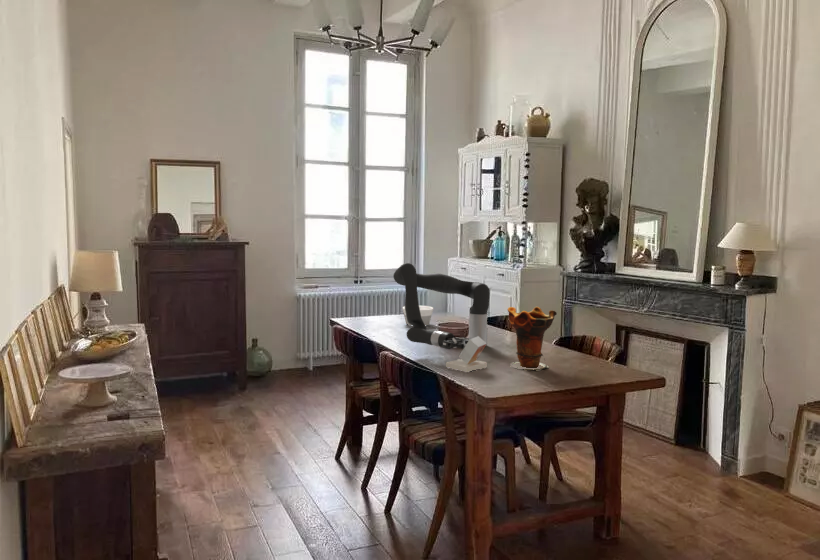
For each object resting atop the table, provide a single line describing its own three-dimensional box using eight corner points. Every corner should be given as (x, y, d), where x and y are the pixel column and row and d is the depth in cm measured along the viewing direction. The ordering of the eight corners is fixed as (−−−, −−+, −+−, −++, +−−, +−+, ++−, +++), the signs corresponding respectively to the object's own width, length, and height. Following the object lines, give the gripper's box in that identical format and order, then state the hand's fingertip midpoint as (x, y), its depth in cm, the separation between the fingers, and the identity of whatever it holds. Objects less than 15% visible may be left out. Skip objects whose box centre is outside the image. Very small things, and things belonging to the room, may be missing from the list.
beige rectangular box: (465, 363, 304) (466, 357, 304) (486, 367, 296) (486, 362, 296) (446, 367, 294) (446, 362, 294) (466, 372, 286) (467, 367, 286)
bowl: (400, 322, 412) (400, 305, 411) (430, 322, 415) (431, 305, 413) (403, 327, 393) (404, 309, 392) (435, 327, 396) (435, 310, 394)
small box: (466, 364, 290) (478, 347, 286) (457, 356, 292) (469, 339, 288) (476, 360, 297) (487, 343, 292) (467, 352, 299) (478, 335, 294)
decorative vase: (564, 365, 301) (564, 305, 297) (532, 375, 286) (532, 312, 282) (527, 357, 317) (528, 300, 313) (496, 367, 302) (496, 307, 298)
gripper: (432, 333, 299) (460, 338, 287) (453, 330, 309) (480, 334, 298) (432, 349, 299) (459, 355, 288) (452, 345, 310) (479, 351, 298)
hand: (470, 345), depth 293 cm, fingers closed on small box, 8 cm apart
